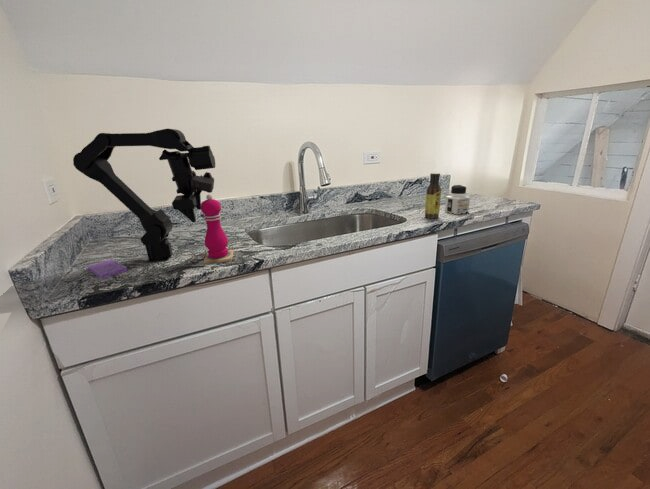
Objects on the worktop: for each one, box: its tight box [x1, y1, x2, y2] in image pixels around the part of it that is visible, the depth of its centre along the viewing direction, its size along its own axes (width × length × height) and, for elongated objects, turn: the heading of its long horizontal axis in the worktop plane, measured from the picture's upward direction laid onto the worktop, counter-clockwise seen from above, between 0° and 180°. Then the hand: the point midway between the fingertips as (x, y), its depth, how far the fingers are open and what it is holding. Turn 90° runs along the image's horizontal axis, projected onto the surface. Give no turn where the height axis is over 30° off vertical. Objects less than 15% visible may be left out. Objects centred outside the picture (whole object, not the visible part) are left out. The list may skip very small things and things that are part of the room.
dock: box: [203, 249, 234, 264], centre depth 101 cm, size 8×8×1 cm
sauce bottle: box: [424, 172, 442, 219], centre depth 139 cm, size 6×6×20 cm
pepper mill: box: [200, 193, 229, 258], centre depth 98 cm, size 7×7×20 cm
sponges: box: [87, 258, 128, 280], centre depth 95 cm, size 7×13×2 cm, turn 51°
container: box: [444, 184, 471, 215], centre depth 148 cm, size 8×8×13 cm
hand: (197, 215), depth 105 cm, fingers open, 9 cm apart
